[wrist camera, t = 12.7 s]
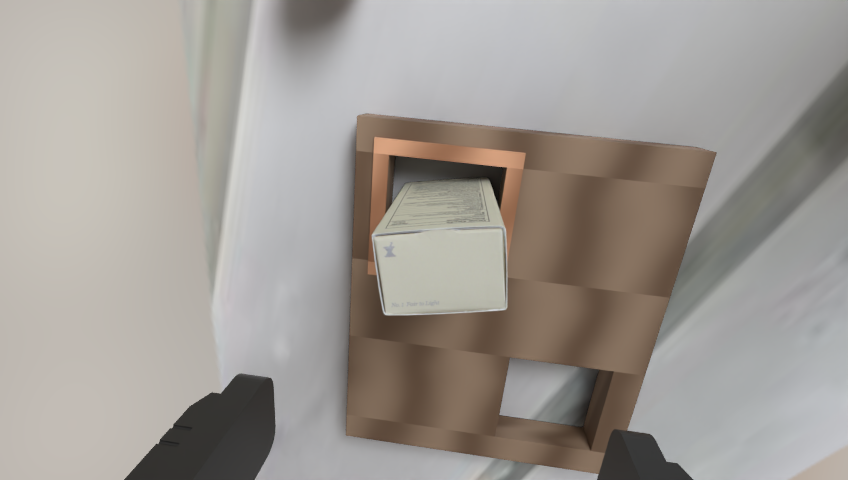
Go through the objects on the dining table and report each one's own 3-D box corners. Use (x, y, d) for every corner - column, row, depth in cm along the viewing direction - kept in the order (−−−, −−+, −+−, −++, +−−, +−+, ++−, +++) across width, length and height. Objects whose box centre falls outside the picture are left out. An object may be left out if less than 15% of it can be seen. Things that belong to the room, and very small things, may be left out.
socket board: (696, 147, 28) (718, 153, 26) (603, 451, 37) (613, 478, 34) (366, 113, 29) (356, 115, 27) (353, 414, 38) (345, 437, 36)
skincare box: (410, 237, 32) (377, 319, 21) (404, 179, 31) (365, 233, 19) (495, 233, 31) (509, 315, 20) (492, 173, 30) (506, 225, 19)
